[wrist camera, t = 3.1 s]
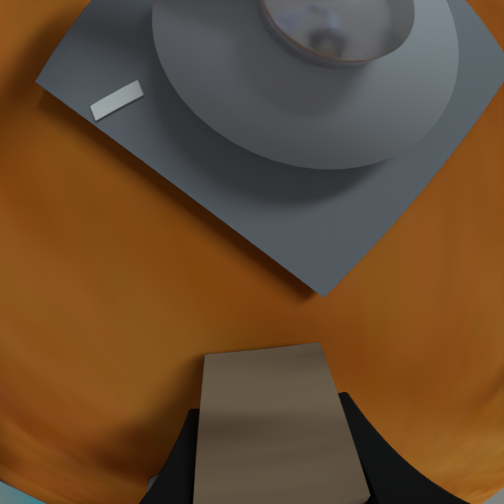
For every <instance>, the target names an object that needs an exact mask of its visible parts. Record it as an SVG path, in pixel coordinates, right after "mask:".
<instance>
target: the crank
mask: <svg viewBox="0 0 504 504" xmlns="http://www.w3.org/2000/svg"><path fill="white" fill-rule="evenodd" d="M257 10H258V14H259V18H260V20H261V22H262V25H263V26H264V28H265V30H266V31H267V33H268V34H269V35H270V37H271V38H272V39H273V40H274V41H275V42H276V43H277V44H278V45H279V46H280V47H281V48H282V49H284V50H285V51H286V52H288V53H289V54H291V55H292V56H294V57H296V58H298V59H300V60H301V61H304V62H306V63H309V64H311V65H315V66H319V67H324V68H330V69H345V68H352V67H356V66H359V65H362V64H365V63H367V62H370V61H372V60H375V59H378V58H380V57H383V56H386V55H388V54H390V53H392V52H393V51H395V50H396V49H398V48H399V47H400V46H401V45H402V44H403V43H404V42H405V41H406V39H407V38H408V37H409V35H410V33H411V30H412V28H413V24H414V18H415V8H414V2H413V0H257Z"/></svg>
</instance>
